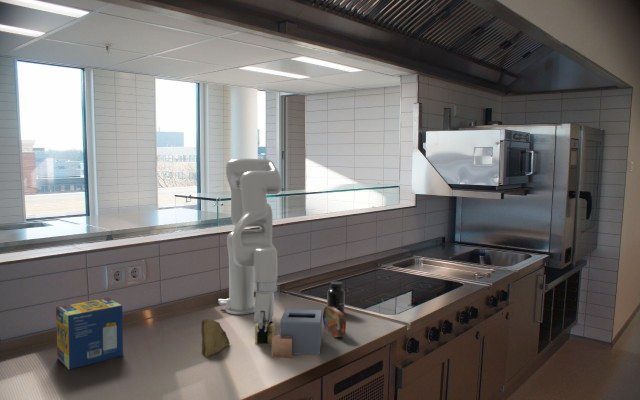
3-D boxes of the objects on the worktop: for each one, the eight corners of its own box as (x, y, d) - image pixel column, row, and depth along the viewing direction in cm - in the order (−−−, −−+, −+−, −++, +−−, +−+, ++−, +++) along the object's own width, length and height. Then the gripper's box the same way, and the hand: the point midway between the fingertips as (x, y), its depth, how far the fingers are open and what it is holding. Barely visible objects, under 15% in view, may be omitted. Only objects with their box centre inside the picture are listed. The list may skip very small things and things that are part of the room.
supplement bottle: (343, 316, 182) (343, 285, 181) (325, 315, 183) (325, 284, 182) (345, 311, 188) (346, 281, 187) (328, 309, 190) (329, 280, 189)
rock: (225, 332, 156) (195, 333, 151) (233, 316, 151) (202, 317, 146) (231, 362, 149) (200, 364, 144) (240, 346, 144) (208, 347, 139)
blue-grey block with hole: (280, 353, 146) (280, 320, 145) (285, 338, 158) (285, 309, 157) (319, 354, 145) (319, 322, 144) (321, 340, 157) (321, 310, 156)
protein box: (56, 359, 139) (55, 306, 138) (110, 345, 150) (109, 297, 149) (68, 370, 132) (66, 315, 130) (124, 355, 142) (123, 304, 141)
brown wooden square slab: (291, 358, 142) (291, 339, 141) (271, 358, 142) (271, 338, 142) (292, 355, 144) (292, 336, 144) (272, 354, 145) (273, 335, 144)
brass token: (273, 344, 153) (273, 326, 152) (255, 343, 153) (255, 325, 152) (274, 341, 155) (275, 323, 155) (256, 341, 155) (256, 323, 155)
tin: (322, 326, 170) (322, 303, 170) (330, 325, 171) (330, 302, 171) (338, 341, 156) (338, 316, 156) (347, 340, 157) (347, 315, 157)
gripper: (258, 279, 161) (258, 328, 163) (248, 292, 144) (248, 347, 145) (280, 279, 161) (280, 329, 162) (272, 293, 144) (272, 348, 145)
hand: (265, 338), depth 154 cm, fingers open, 9 cm apart
